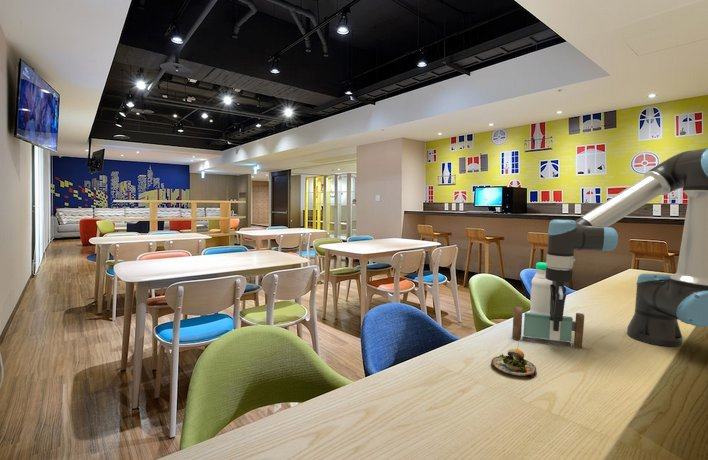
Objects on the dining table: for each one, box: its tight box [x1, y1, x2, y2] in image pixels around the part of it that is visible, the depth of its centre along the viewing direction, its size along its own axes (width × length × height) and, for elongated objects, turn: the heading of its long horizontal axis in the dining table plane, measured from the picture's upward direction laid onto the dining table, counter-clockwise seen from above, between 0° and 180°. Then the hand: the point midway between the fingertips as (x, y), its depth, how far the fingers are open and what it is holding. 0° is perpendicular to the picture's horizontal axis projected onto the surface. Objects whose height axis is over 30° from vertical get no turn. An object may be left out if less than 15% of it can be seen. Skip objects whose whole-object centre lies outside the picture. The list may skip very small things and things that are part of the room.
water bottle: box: [529, 261, 553, 315], centre depth 137 cm, size 7×7×25 cm
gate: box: [522, 311, 574, 343], centre depth 124 cm, size 14×2×8 cm, turn 72°
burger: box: [490, 343, 537, 379], centre depth 105 cm, size 12×12×8 cm
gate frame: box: [511, 306, 585, 349], centre depth 125 cm, size 21×4×11 cm, turn 71°
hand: (554, 339), depth 119 cm, fingers closed
